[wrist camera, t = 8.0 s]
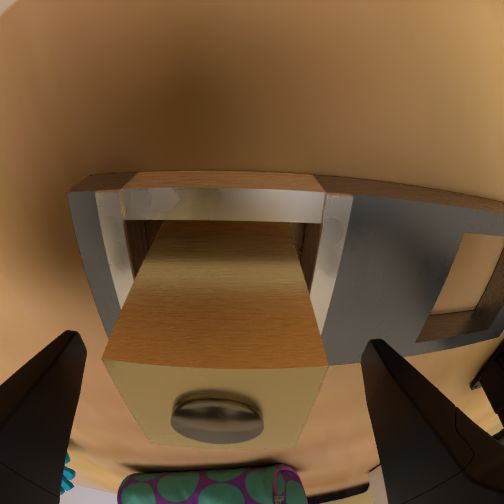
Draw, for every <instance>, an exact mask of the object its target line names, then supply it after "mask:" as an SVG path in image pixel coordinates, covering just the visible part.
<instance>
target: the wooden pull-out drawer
mask: <svg viewBox="0 0 504 504" xmlns="http://www.w3.org/2000/svg"><path fill="white" fill-rule="evenodd" d="M102 361H103V363H104V365H105V367H106V369H107V371H108V372H109V374H110V376H111V378H112V380H113V382H114V384H115V386H116V387H117V389H118V391H119V393H120V395H121V396H122V398H123V400H124V402H125V403H126V405H127V407H128V408H129V410H130V412H131V413H132V415H133V417H134V418H135V420H136V421H137V423H138V425H139V426H140V428H141V429H142V431H143V432H144V434H145V435H146V437H147V438H148V440H149V441H150V443H154V444H161V445H170V446H179V447H191V448H205V449H240V450H243V449H278V448H293V447H295V446H296V443H297V441H298V439H299V437H300V435H301V432H302V430H303V428H304V426H305V423H306V421H307V419H308V417H309V414H310V412H311V409H312V407H313V405H314V402H315V400H316V397H317V395H318V392H319V390H320V387H321V385H322V382H323V379H324V377H325V374H326V372H327V369H328V366H329V365H328V362H327V358H326V354H325V350H324V346H323V343H322V339H321V335H320V331H319V328H318V324H317V321H316V317H315V313H314V310H313V306H312V303H311V299H310V296H309V292H308V289H307V285H306V282H305V278H304V275H303V272H302V268H301V265H300V262H299V258H298V255H297V252H296V248H295V245H294V242H293V239H292V235H291V232H290V229H289V226H288V223H287V222H269V221H229V220H164V221H163V223H162V225H161V227H160V229H159V231H158V233H157V235H156V237H155V239H154V241H153V243H152V245H151V247H150V249H149V251H148V253H147V255H146V257H145V259H144V261H143V263H142V265H141V267H140V269H139V272H138V274H137V276H136V278H135V280H134V282H133V284H132V287H131V289H130V291H129V293H128V296H127V298H126V300H125V302H124V305H123V307H122V309H121V312H120V314H119V316H118V319H117V321H116V323H115V326H114V328H113V331H112V333H111V336H110V338H109V341H108V343H107V346H106V348H105V351H104V354H103V356H102Z"/></svg>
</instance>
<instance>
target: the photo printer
mask: <svg viewBox="0 0 504 504" xmlns="http://www.w3.org/2000/svg"><path fill="white" fill-rule="evenodd" d="M368 478H369V483H370V487H371V492H372V496H373V501H374V504H388V500H387V495H386V489H385V484H384V479H383V473H382V468H381V465H380V466H379V467H377V468H376V469H374V470H373V471H371V472H370V473H369V474H368Z"/></svg>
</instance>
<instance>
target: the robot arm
mask: <svg viewBox="0 0 504 504" xmlns="http://www.w3.org/2000/svg"><path fill="white" fill-rule="evenodd" d="M86 357H87V350H86V347H85V345H84V343H83V340H82V338H81V336H80V334H79V333H78V332H77V331H71V330H66V331H65V332H63V333H62V334H61V335H60V336H58V337H57V338H56V339H55V340H53V341H52V342H51V343H50V344H49V345H47V346H46V347H45V348H44V349H42V350H41V351H40V352H39V353H38V354H36V355H35V356H34V357H33V358H32V359H30V360H29V361H28V362H27V363H26V364H25V365H23V366H22V367H21V368H20V369H19V370H18V371H16V372H15V373H14V374H13V375H12V376H11V377H9V378H8V379H7V380H6V381H5V382H4V383H3V384H1V385H0V504H59V502H60V492H61V484H62V478H63V471H64V465H65V459H66V454H67V448H68V443H69V439H70V434H71V429H72V425H73V420H74V416H75V412H76V408H77V404H78V400H79V396H80V391H81V385H82V379H83V373H84V367H85V362H86ZM361 367H362V374H363V380H364V387H365V395H366V401H367V407H368V411H369V415H370V419H371V423H372V428H373V432H374V436H375V441H376V445H377V449H378V454H379V459H380V464H381V468H382V473H383V479H384V484H385V489H386V495H387V500H388V504H504V429H502V430H501V431H500V432H499V433H497V434H495V435H493V436H491V435H489V434H488V433H487V432H485V431H484V430H483V429H482V428H480V427H479V426H478V425H477V424H475V423H474V422H473V421H472V420H471V419H470V418H469V417H467V416H466V415H465V414H464V413H463V412H462V411H461V410H460V409H459V408H458V407H455V405H454V404H453V403H452V402H451V401H450V400H449V399H448V398H447V397H446V396H445V395H444V394H442V393H441V392H440V391H439V390H438V389H437V388H436V387H435V386H434V385H433V384H432V383H431V382H429V381H428V380H427V379H426V378H425V377H424V376H423V375H422V374H421V373H420V372H419V371H417V370H416V369H415V368H414V367H413V366H412V365H411V364H410V363H409V362H408V361H406V360H405V359H404V358H403V357H402V356H401V355H400V354H399V353H398V352H396V351H395V350H394V349H393V348H392V347H391V346H390V345H389V344H388V343H386V342H385V341H384V340H383V339H380V338H378V339H370V340H369V341H368V343H367V345H366V347H365V349H364V351H363V354H362V356H361ZM479 387H482V388H483V390H484V392H485V394H486V396H487V398H488V400H489V402H490V404H491V406H492V408H493V410H494V412H495V414H498V416H499V419H500V421H501V423H502V425H503V427H504V342H503V343H502V344H501V346H500V347H499V349H498V350H497V351H496V353H495V354H494V356H493V357H492V358H491V360H490V361H489V362H488V364H487V365H486V366H485V368H484V369H483V370H482V371H481V373H480V374H479V375H478V377H477V378H476V379H475V380H474V381H473V383H472V384H471V385H470V388H471V390H474V389H477V388H479Z"/></svg>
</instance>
